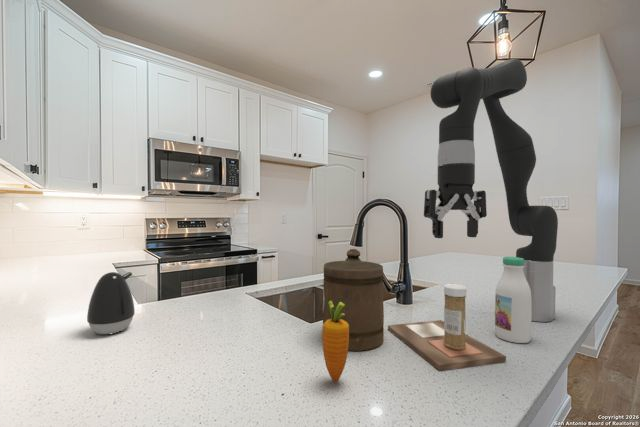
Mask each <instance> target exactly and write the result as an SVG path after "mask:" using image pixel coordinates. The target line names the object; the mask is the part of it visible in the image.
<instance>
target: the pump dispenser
mask: <svg viewBox="0 0 640 427" xmlns="http://www.w3.org/2000/svg"><path fill="white" fill-rule="evenodd" d="M132 276H133V273H132V272H131V271H129V272H127V273H125V274H123V275H122V274H121V273H118V272H114V271H113V272H111V271H110V272H107V273H105V274H103V275H102V276H101V277H99V279H98V281H97V283H96V285H95V286H94V289H93V291H92V295H91V297H90V300H89V303H88V309H87V315H86V321H87V324H88V325H89V327H90V329H91V330H92V332H94V333H95V334H97V335H102V334H110V333H115V334H117V333H116V332H118V333H120V332H119V331H121V332H122V331H124V330H126V329H127V328H128V327H129V326H130V325H131V323H132V321H133V318H134V316H135V313H136V312H135V304H134V298H133V294H132V291H131V289H130V286H129V284H128V282H127V280H128V278H130V277H132ZM110 335H111V334H110Z"/></svg>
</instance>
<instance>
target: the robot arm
mask: <svg viewBox="0 0 640 427" xmlns="http://www.w3.org/2000/svg"><path fill="white" fill-rule="evenodd" d="M527 75H528V74H527V70H526V68H525V65H524V63H523V62H522V61H521V60H520V59H518V58H510V59H506V60H505V61H503V62H499V63H498V64H495V65H493V66H491V67H486V68H477V67H474V66H472V67H471V66H470V67H466V68H462V69H460V70H457V71H454V72H451V73H447V74H445V75H442V76H440V77H438V78H437V79H436V80H435V81H433V83H432V85H431V87H430V98H431V100H432V101H431V102H432V103H433V104H434V105H435V106H436V107H437V108H440V109H450V108H452V107H454V108H455V107H457V108H456V110H455V111H453V112H452V113H451V114H448V115H446V116H445V117H443V118H442V119H440V122H439V124H438V126H439V127H438V149H437V150H438V151H437V185H438V189H437V190H436V189H427V190H425V192H424V202H423V204H424V207H423V217H424V218H426V219H427V218H428V219H430V220H431V221H432V224H431V225H432V227H431V229H432V230H431V232H432V235H433V237H434V239H435V238H436V239H443V238H444V217H445V215H446V214H448V213H449V212H450V211H461V213H463V214H464V216H465V217H466V218H467V220H466V231H467V232H466V236H467V237H468V238H477V237H478V236H477V235H479V234H478V233H479V220H480V219H482V218H486V217H487V215H488V214H487V213H488V212H487V194H486V191H485V190H475V191H474V189H473V186H474V184H475V183H476V180H475V178H476V176H475V175H476V150H475V144H474V141H475V140H474V139H475V138H474V137H475V135H474V134H475V133H474V132H475V130H474V129H475V121H476V120H475V119H476V117H477V112H478V110H479V105H480V102H481V100H482V101H483V103H484V104H483V105H484V107H485V110H486V115H487V117H488V120H489V122H490V127H491V131H492V136H493V140H494V146H495V150H496V156H497V159H498V164H499V166H500V171H501V175H502V180H503V185H504V189H505V196H506V197H505V198H506V203H507V205H506V206H507V214H508V220H509V224H510V227H511V230H512V231H513V232H514V233H515V234H516V235H519V236H525V237H532V238H531V242H530V243H529V244H528V245H525V246H523V247H519V248H517V249H516V252H515V257H519V258H523V259H524V262H525V263H524V268H523V272H524V275H525V278H526V280H527V282H528V284H529V287H530V290H531V301H532V316H531V322H532V321H533V322H540V323H548V322H552V321H553V320H555V319H556V293H557V292H556V290H557V288H556V286H555V285H554V257H555V253H556V250H557V240H558V228H559V227H558V225H559V222H558V221H559V220H558V219H559V218H558V215H557V212H556V210H555V208H553V207H551V206H549V205H530V204H529V201H528V193H527V192H528V191H527V188H528V184H529V181H530V179H531V177H532V174H533V172H534V170H535V167H536V164H537V155H536V150H535V147H534V141H533V138H532V136H531V135H530V134H529V132H528V131H526V129H524V128H523V127H522V126H521V125H519V124H518V123H517V122H515V121H514V120H513V119H512V118H511V117H510V116H509V115H508V114H507V113H506V112H505V110H504V108H503V105H502V104H501V101H500V99H503V98H505V97H509V96H511V95H514V94H517V93H518V92H520V91H522V90H523V89H524V88H525V86H526V85H527V81H528V80H527V79H528V76H527ZM437 200H439V202H438V203H437Z"/></svg>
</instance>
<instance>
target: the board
mask: <svg viewBox="0 0 640 427" xmlns="http://www.w3.org/2000/svg"><path fill="white" fill-rule="evenodd" d="M387 330H388V331H389V332H390V333H391V334H393V335H394V336H395V337H396V338H398V339H399V340H400V341H401V342H402V343H403V344H405V345H406V346H408V348H410V349H411V350H412V351H414V352H415V353H416V354H417V355H418V356H420V357H421V358H422V359H423V360H425V361H426V362H427V363H428V364H429V365H431V366H433V367H434V368H435V369H436V370H437V371H438V372H442V371H448V370H449V371H450V370H457V369H464V368H471V367H479V366H487V365H491V364H492V365H493V364H500V363H501V364H502V363H506V362H507V356H506V355H505V354H503V353H501V352H499V351H497V350H496V349H494V348H492V347H490V346H489V345H487V344H485V343H483V342H481V341H479V340H478V339H476V338H474V337H472V336H470V335H469V334H466V333H465V344H466V347H465V348H464V349H462V350H455V349H450V348H448V347H446V346H445V345H444V335H445V334H444V320H430V321H419V322H410V323H409V322H408V323H399V324H398V323H396V324H387Z"/></svg>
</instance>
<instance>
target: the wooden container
mask: <svg viewBox="0 0 640 427" xmlns="http://www.w3.org/2000/svg"><path fill="white" fill-rule="evenodd" d="M346 256H347V257H346V258H345V260H335V261H329V262H326V263H324V264H323V289H322V290H323V293H322V294H323V296H322V325H323V324H324V323H325V322H326V321H327V320H328V319H332V317H331V313H330V306H329V303H328V302H329V301H332V303H333V305H334V313H335V310H336V308H337V306H338V304H339V302H342V303H343V304H345V306H344V307H343V308H342V309H341V311H340V314H341V313H344V314H345V315H344V316H343V317H342V318H341V319H342V320H344V321H346V322H347V323H348V324H349V345H348V352H349V351H350V352H361V351H369V350H374V349H376V348H379V347H380V346H382V344H383V343H384V332H385V330H384V323H385V322H384V321H385V319H384V318H385V317H384V316H385V313H384V312H385V311H384V309H385V308H384V267H383V266H384V265H382V264H380V263H377V262H373V261H371V262H370V261H363V260H361V259H360V256H361V251H359V250H358V249H356V248H350V249H349V250H347V251H346ZM340 314H339V315H340Z"/></svg>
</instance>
